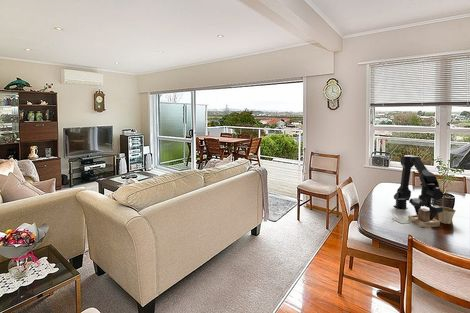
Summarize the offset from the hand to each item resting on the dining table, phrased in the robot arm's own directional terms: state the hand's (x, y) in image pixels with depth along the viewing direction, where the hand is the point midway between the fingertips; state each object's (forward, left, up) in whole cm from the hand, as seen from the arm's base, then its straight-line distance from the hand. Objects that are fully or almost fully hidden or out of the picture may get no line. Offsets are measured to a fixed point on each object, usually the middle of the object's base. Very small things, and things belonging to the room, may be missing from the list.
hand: (423, 217), depth 167 cm
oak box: (0, 0, -4) cm, 4 cm away
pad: (-6, -10, -4) cm, 12 cm away
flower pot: (+2, +14, -4) cm, 15 cm away
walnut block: (0, 0, -2) cm, 2 cm away
